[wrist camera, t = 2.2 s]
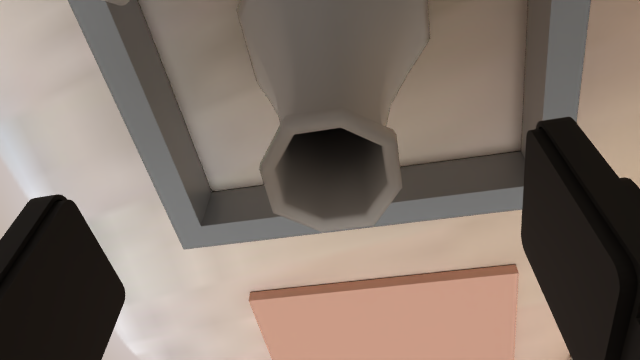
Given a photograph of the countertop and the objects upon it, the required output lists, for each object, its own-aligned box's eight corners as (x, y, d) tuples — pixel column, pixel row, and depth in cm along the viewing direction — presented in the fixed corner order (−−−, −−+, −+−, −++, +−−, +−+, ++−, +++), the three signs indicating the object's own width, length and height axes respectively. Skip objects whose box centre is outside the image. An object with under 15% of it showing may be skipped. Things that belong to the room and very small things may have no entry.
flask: (233, 94, 22) (171, 273, 13) (242, -102, 17) (158, -11, 9) (406, 117, 22) (446, 305, 14) (457, -69, 18) (555, 47, 10)
